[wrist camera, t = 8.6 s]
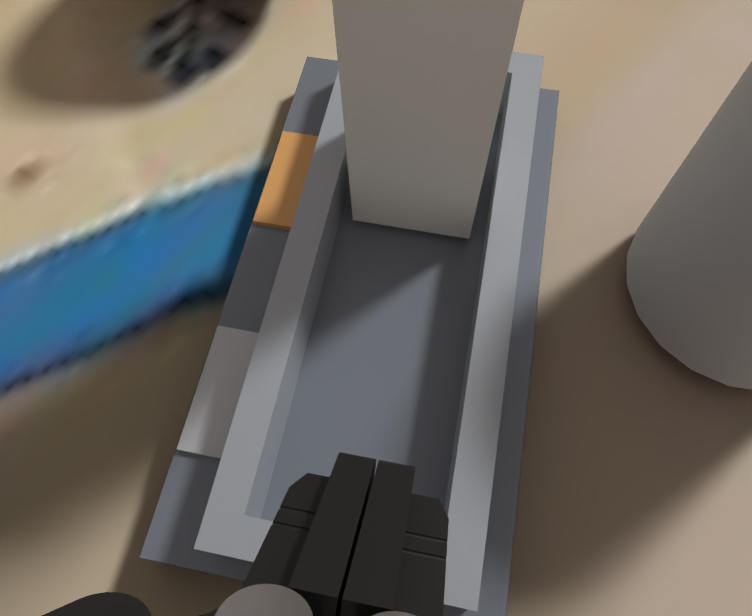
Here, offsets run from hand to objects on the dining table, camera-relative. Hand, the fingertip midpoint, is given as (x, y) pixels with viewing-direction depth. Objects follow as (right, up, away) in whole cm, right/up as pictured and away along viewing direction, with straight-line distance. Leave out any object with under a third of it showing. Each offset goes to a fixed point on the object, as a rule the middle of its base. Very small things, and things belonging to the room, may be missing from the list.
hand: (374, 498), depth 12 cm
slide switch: (+1, +4, +10) cm, 10 cm away
